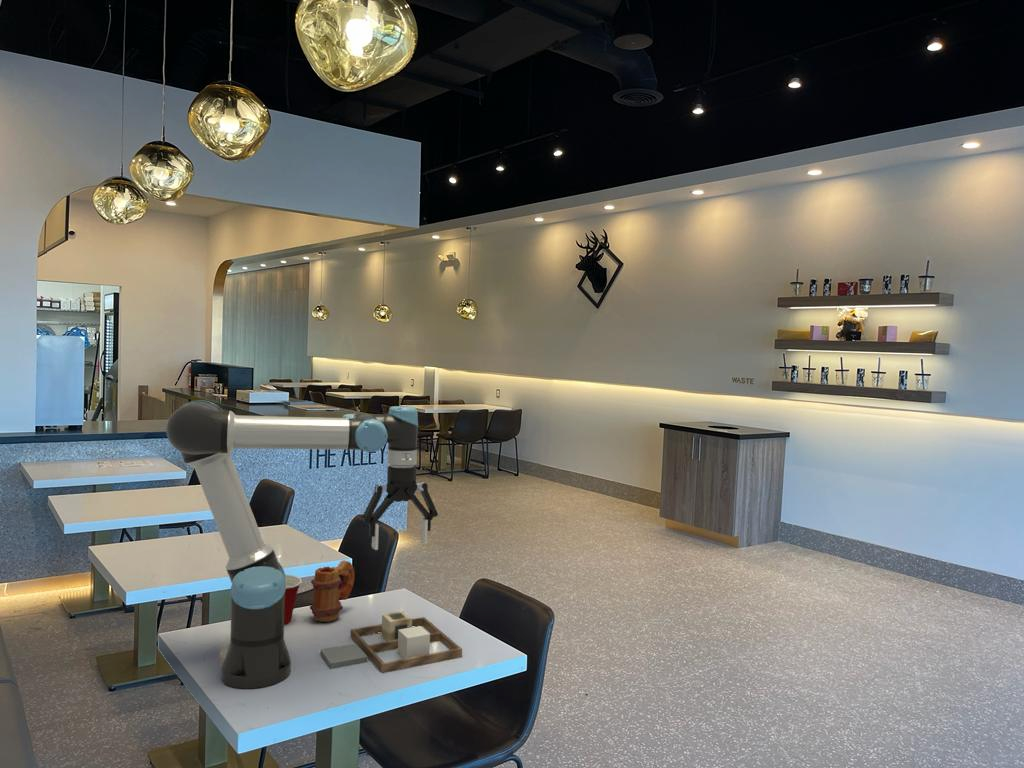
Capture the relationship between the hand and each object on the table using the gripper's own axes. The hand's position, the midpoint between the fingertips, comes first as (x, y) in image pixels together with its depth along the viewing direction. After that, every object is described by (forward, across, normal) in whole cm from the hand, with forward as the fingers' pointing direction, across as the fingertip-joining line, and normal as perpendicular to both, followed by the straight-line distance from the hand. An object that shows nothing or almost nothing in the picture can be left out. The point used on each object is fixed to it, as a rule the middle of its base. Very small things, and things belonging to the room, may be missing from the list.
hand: (399, 546), depth 187 cm
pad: (+25, -16, -6) cm, 30 cm away
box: (+25, 0, -6) cm, 25 cm away
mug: (+25, -11, +22) cm, 35 cm away
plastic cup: (+25, -25, +24) cm, 43 cm away
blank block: (+25, 0, -11) cm, 27 cm away
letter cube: (+25, 0, 0) cm, 25 cm away
